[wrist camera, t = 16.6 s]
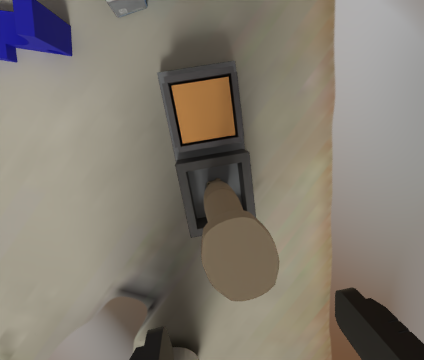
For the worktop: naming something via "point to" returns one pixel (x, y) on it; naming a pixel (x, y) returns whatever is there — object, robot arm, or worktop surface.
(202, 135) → the button
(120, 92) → the worktop surface
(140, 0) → the label tape box
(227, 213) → the handle
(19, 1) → the blue curved piece
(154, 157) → the worktop surface
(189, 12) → the worktop surface
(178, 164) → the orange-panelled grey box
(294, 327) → the worktop surface
